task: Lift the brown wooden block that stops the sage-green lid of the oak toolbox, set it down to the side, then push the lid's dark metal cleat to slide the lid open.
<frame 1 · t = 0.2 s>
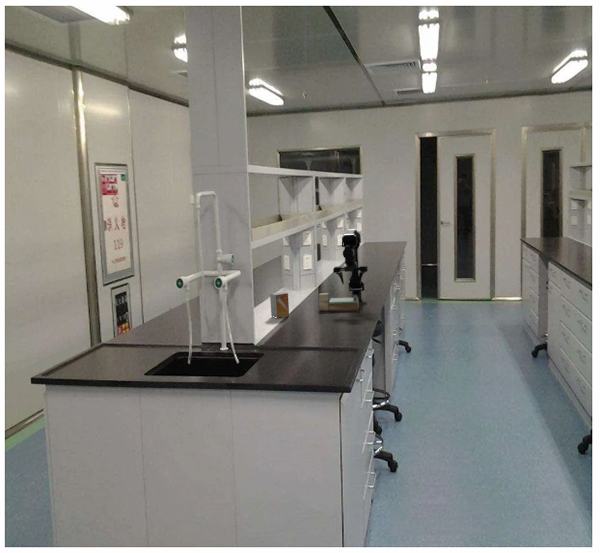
hand: (351, 284, 329), 14 cm above the counter, tool pointing down, fingers open, 9 cm apart
small box: (280, 316, 326), on the counter
toolbox: (344, 308, 336), on the counter
brown wooden block: (324, 309, 338), on the counter
lid: (343, 298, 335), point 6 cm above the counter, slide at 0.0 cm
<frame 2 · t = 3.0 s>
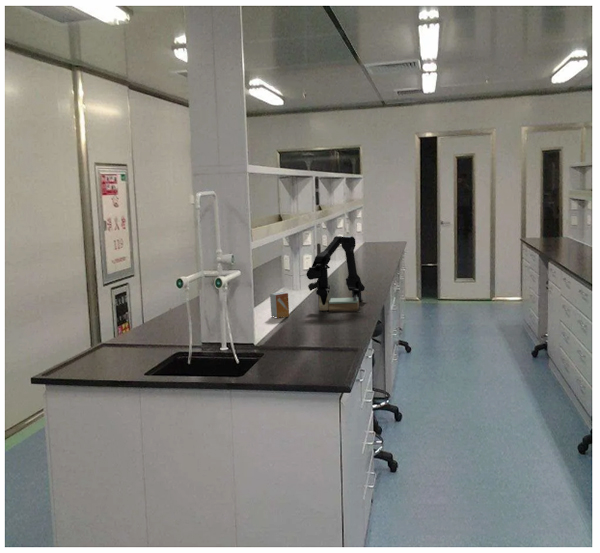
hand: (324, 304, 337), 3 cm above the counter, tool pointing down, fingers closed on brown wooden block, 4 cm apart
brown wooden block: (324, 309, 338), on the counter, touching gripper
everything else where it was.
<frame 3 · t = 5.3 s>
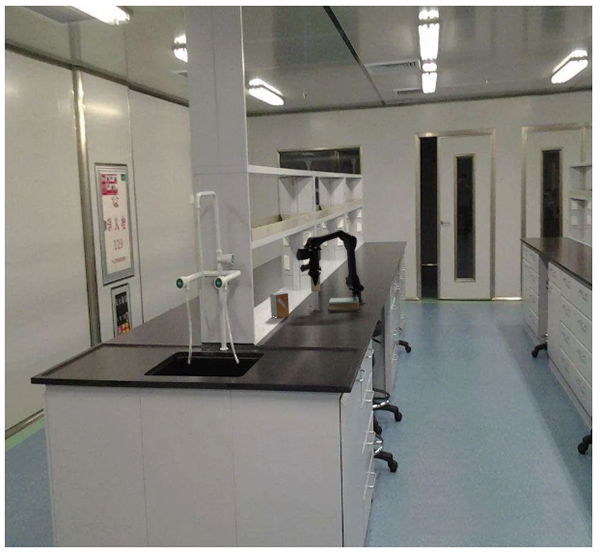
hand: (315, 285, 344), 13 cm above the counter, tool pointing down, fingers closed on brown wooden block, 4 cm apart
brown wooden block: (316, 290, 344), point 10 cm above the counter, touching gripper
everything else where it was.
when the fingers open (4 cm above the counter, at t = 7.6 s): brown wooden block drops 1 cm, on the counter.
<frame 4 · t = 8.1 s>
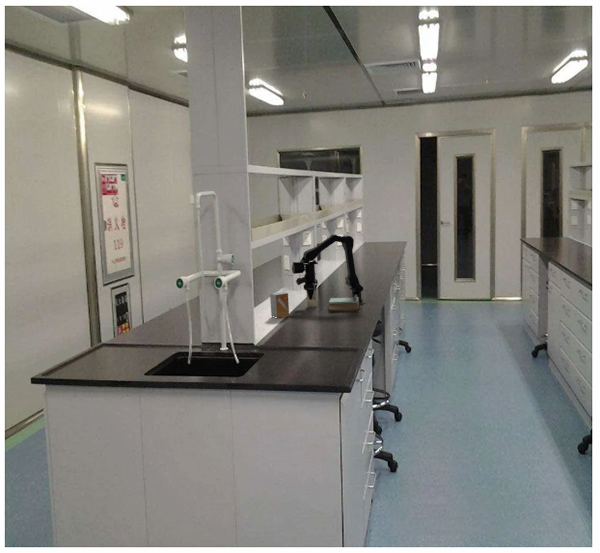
hand: (311, 298, 350), 4 cm above the counter, tool pointing down, fingers open, 9 cm apart
brown wooden block: (312, 305, 351), on the counter
everything else where it was.
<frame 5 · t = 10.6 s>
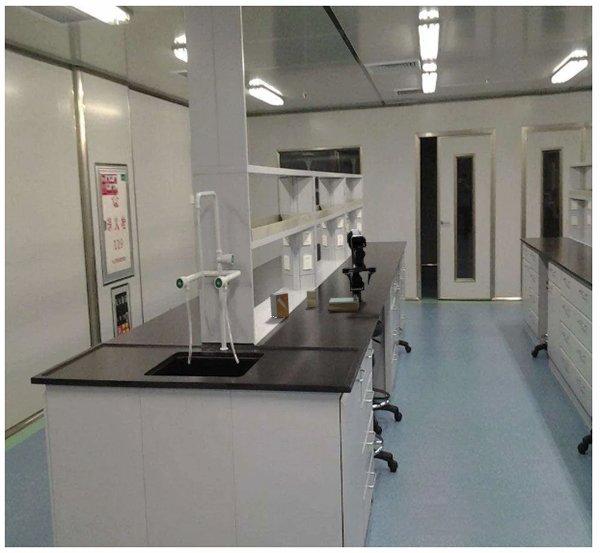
hand: (360, 285, 333), 13 cm above the counter, tool pointing down, fingers open, 9 cm apart
nothing on the counter moved.
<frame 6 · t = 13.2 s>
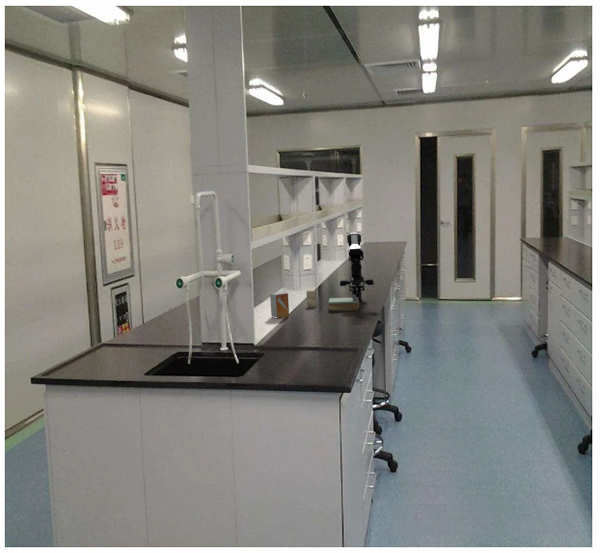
hand: (357, 297, 334), 6 cm above the counter, tool pointing down, fingers closed
lid: (343, 298, 335), point 6 cm above the counter, slide at 0.4 cm, touching gripper
everything else where it was.
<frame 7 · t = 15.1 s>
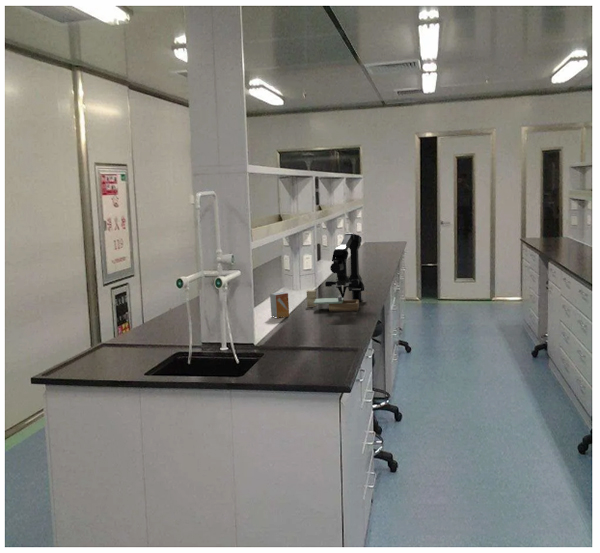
hand: (343, 297, 335), 6 cm above the counter, tool pointing down, fingers closed
lid: (328, 299, 337), point 6 cm above the counter, slide at 8.6 cm, touching gripper
everything else where it was.
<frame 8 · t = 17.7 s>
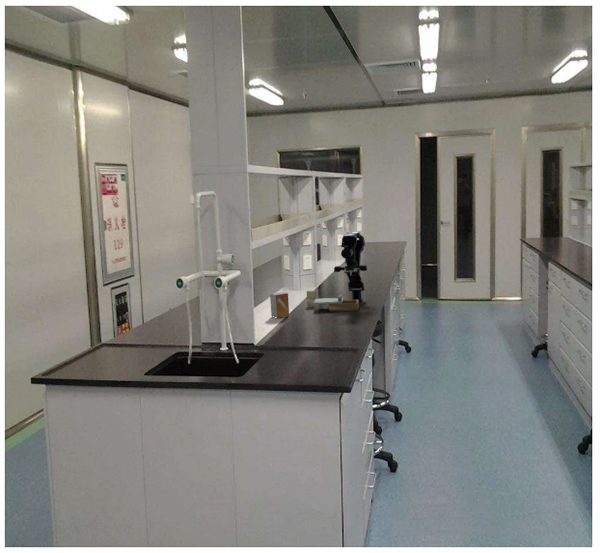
hand: (351, 283, 343), 13 cm above the counter, tool pointing down, fingers closed
lid: (328, 299, 337), point 6 cm above the counter, slide at 8.6 cm
everything else where it was.
at the end: lid slide at 8.6 cm; brown wooden block inside the target area (0.0 cm from its centre), on the counter; brown wooden block tilted 0° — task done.
